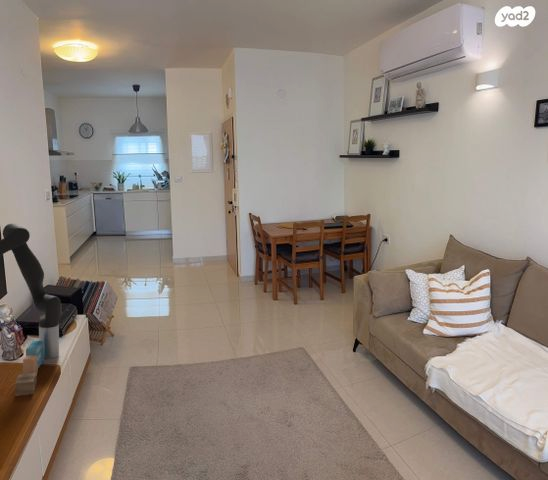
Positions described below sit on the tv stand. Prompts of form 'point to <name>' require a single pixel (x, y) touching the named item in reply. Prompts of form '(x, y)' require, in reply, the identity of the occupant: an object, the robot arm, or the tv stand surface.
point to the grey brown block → (25, 384)
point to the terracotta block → (30, 365)
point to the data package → (36, 351)
